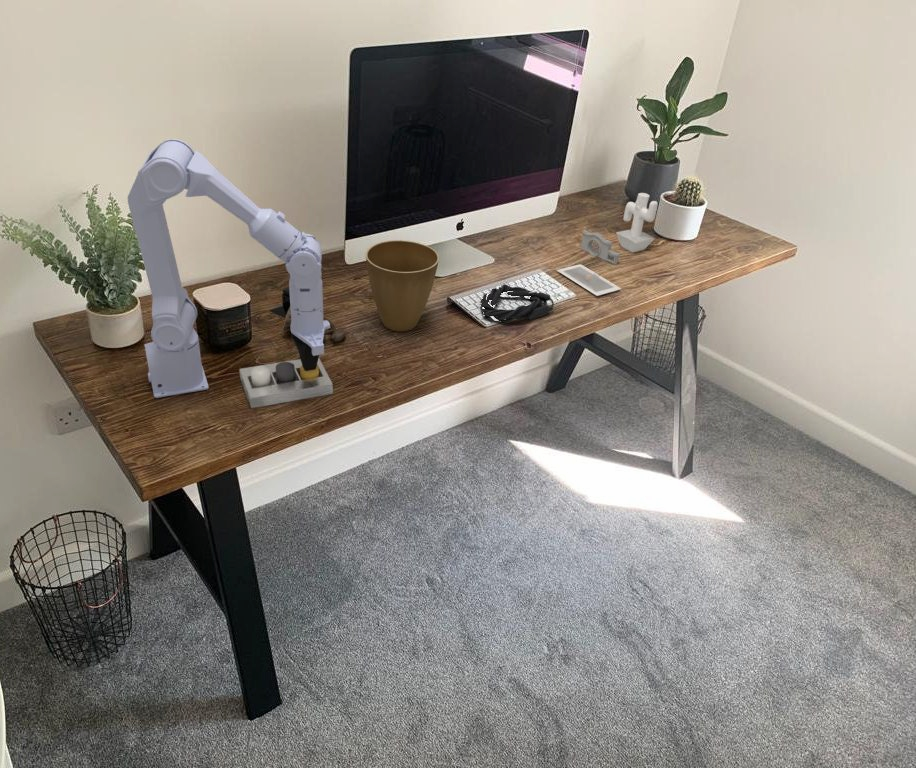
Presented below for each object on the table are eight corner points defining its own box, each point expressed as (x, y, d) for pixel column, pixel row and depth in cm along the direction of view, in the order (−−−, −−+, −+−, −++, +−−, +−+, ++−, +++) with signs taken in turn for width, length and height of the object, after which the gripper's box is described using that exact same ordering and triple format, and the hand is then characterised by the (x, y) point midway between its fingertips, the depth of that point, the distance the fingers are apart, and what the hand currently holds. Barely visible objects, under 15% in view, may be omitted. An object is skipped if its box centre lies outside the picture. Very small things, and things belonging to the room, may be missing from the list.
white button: (254, 391, 146) (252, 377, 144) (250, 381, 148) (249, 367, 147) (272, 387, 147) (271, 374, 145) (268, 378, 150) (267, 364, 148)
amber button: (303, 388, 150) (302, 374, 148) (298, 378, 152) (298, 365, 151) (321, 384, 151) (320, 371, 149) (316, 375, 154) (315, 362, 152)
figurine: (630, 239, 219) (640, 185, 211) (655, 252, 213) (667, 198, 204) (610, 243, 215) (620, 189, 207) (635, 257, 209) (646, 202, 201)
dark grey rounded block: (278, 386, 148) (277, 373, 146) (274, 377, 150) (273, 363, 148) (297, 383, 149) (296, 370, 147) (292, 374, 151) (291, 360, 150)
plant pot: (353, 330, 169) (352, 261, 160) (384, 301, 180) (385, 234, 171) (418, 347, 165) (421, 277, 156) (445, 316, 176) (450, 249, 167)
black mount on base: (303, 292, 182) (302, 273, 180) (329, 303, 179) (328, 283, 176) (260, 314, 173) (259, 294, 170) (287, 326, 170) (286, 305, 167)
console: (251, 408, 144) (250, 398, 142) (240, 378, 151) (239, 368, 150) (332, 393, 149) (332, 383, 148) (318, 365, 157) (318, 356, 155)
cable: (501, 333, 172) (503, 315, 170) (461, 306, 181) (462, 289, 179) (559, 313, 182) (561, 296, 179) (518, 289, 190) (520, 272, 188)
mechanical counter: (308, 292, 170) (273, 298, 162) (354, 306, 164) (319, 314, 156) (306, 325, 173) (271, 333, 165) (351, 340, 166) (317, 349, 158)
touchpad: (596, 299, 189) (597, 291, 188) (555, 274, 199) (557, 266, 198) (620, 292, 193) (622, 284, 191) (579, 268, 203) (581, 260, 201)
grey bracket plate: (618, 264, 205) (622, 242, 202) (614, 265, 204) (618, 244, 201) (582, 247, 212) (586, 226, 209) (578, 249, 211) (581, 228, 208)
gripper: (340, 320, 139) (341, 385, 146) (317, 283, 149) (320, 345, 157) (299, 326, 136) (303, 392, 144) (280, 288, 147) (284, 351, 154)
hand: (309, 368), depth 150 cm, fingers closed, pressing on amber button
